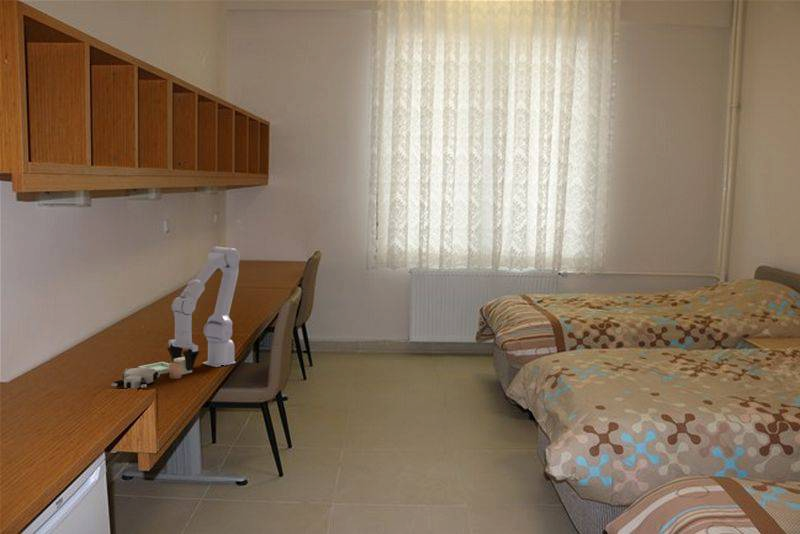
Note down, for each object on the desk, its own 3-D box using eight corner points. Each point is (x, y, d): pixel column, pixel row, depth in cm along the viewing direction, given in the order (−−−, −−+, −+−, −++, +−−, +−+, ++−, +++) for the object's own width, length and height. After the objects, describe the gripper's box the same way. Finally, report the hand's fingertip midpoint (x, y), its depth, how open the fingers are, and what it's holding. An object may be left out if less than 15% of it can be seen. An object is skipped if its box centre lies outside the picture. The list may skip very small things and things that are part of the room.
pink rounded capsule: (176, 375, 249) (176, 361, 248) (183, 377, 246) (183, 363, 246) (167, 377, 246) (167, 363, 245) (173, 379, 243) (174, 365, 243)
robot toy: (147, 395, 227) (163, 379, 242) (146, 382, 226) (162, 367, 241) (109, 394, 227) (127, 378, 242) (108, 380, 226) (127, 365, 241)
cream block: (184, 370, 256) (184, 356, 256) (192, 372, 253) (192, 358, 253) (173, 372, 252) (173, 358, 252) (181, 374, 250) (181, 360, 249)
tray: (162, 365, 261) (162, 361, 261) (179, 370, 255) (179, 366, 255) (138, 370, 253) (138, 366, 253) (154, 375, 247) (154, 371, 247)
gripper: (161, 329, 253) (161, 366, 254) (186, 335, 244) (186, 373, 245) (178, 326, 258) (178, 363, 260) (203, 332, 250) (202, 370, 251)
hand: (183, 368), depth 253 cm, fingers open, 7 cm apart
